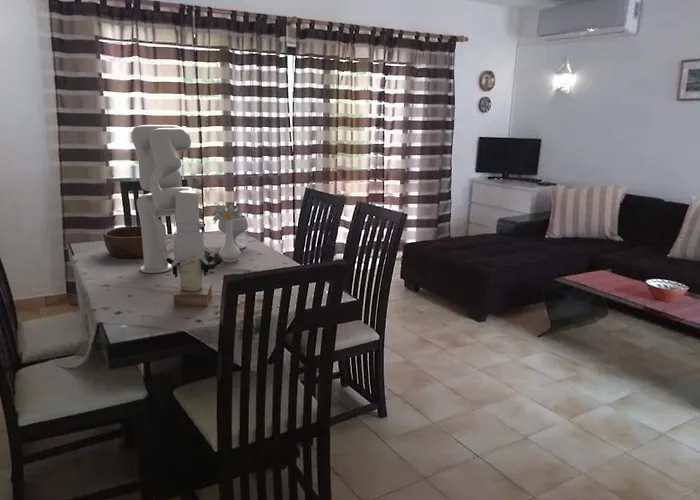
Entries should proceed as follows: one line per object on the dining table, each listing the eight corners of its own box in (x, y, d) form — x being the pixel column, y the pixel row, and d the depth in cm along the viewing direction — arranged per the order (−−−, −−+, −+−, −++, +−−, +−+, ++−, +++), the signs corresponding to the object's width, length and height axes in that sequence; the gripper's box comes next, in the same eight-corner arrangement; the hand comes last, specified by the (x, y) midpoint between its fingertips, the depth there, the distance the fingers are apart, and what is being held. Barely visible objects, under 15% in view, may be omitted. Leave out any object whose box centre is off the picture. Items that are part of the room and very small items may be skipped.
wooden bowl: (104, 248, 261) (102, 227, 258) (160, 244, 270) (159, 224, 268) (104, 262, 239) (102, 239, 236) (165, 257, 248) (164, 235, 246)
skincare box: (180, 290, 192) (177, 256, 189) (187, 286, 196) (184, 252, 193) (196, 291, 190) (194, 257, 187) (203, 287, 194) (201, 254, 191)
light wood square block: (180, 298, 199) (180, 284, 197) (212, 297, 200) (211, 284, 198) (174, 309, 188) (173, 295, 187) (207, 308, 189) (206, 294, 188)
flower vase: (235, 253, 257) (234, 200, 251) (250, 263, 242) (248, 207, 235) (208, 256, 250) (205, 202, 244) (220, 267, 235) (218, 209, 229)
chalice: (212, 247, 267) (211, 216, 263) (235, 242, 278) (234, 212, 274) (232, 252, 259) (231, 220, 255) (254, 246, 270) (253, 216, 266)
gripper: (213, 224, 193) (215, 270, 198) (161, 225, 189) (164, 273, 193) (214, 228, 186) (216, 277, 191) (160, 230, 182) (164, 280, 186)
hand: (190, 275), depth 192 cm, fingers open, 9 cm apart
